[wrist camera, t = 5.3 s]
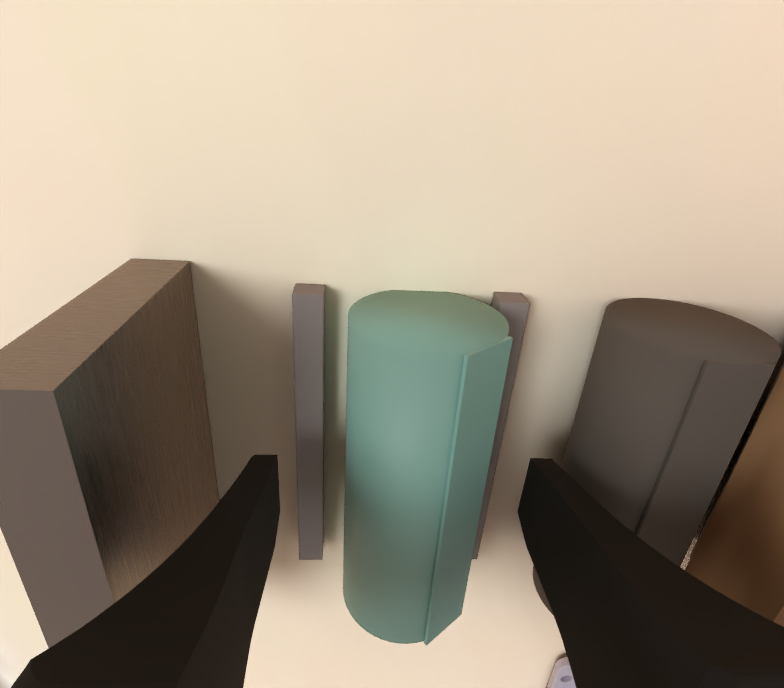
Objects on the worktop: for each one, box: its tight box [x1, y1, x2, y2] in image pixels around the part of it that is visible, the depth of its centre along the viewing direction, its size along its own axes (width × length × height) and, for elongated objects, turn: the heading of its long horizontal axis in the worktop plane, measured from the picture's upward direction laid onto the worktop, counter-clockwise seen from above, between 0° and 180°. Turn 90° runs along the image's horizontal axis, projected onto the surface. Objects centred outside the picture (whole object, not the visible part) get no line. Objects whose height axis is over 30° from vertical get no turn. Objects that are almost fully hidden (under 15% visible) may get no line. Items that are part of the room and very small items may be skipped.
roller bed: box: [292, 284, 784, 614], centre depth 15 cm, size 10×24×4 cm, turn 86°
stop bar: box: [0, 259, 219, 648], centre depth 13 cm, size 11×2×6 cm, turn 176°
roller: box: [343, 290, 513, 645], centre depth 14 cm, size 10×4×4 cm
